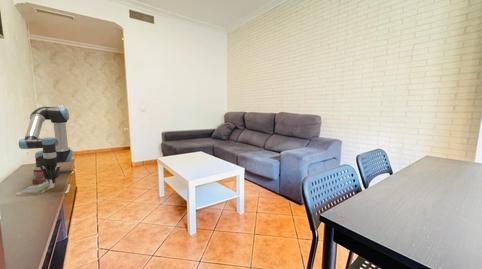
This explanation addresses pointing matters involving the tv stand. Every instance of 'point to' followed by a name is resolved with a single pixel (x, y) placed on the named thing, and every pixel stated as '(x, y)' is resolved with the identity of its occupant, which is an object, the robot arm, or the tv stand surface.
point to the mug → (39, 175)
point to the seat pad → (28, 190)
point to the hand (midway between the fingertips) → (52, 187)
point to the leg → (42, 186)
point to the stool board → (35, 184)
